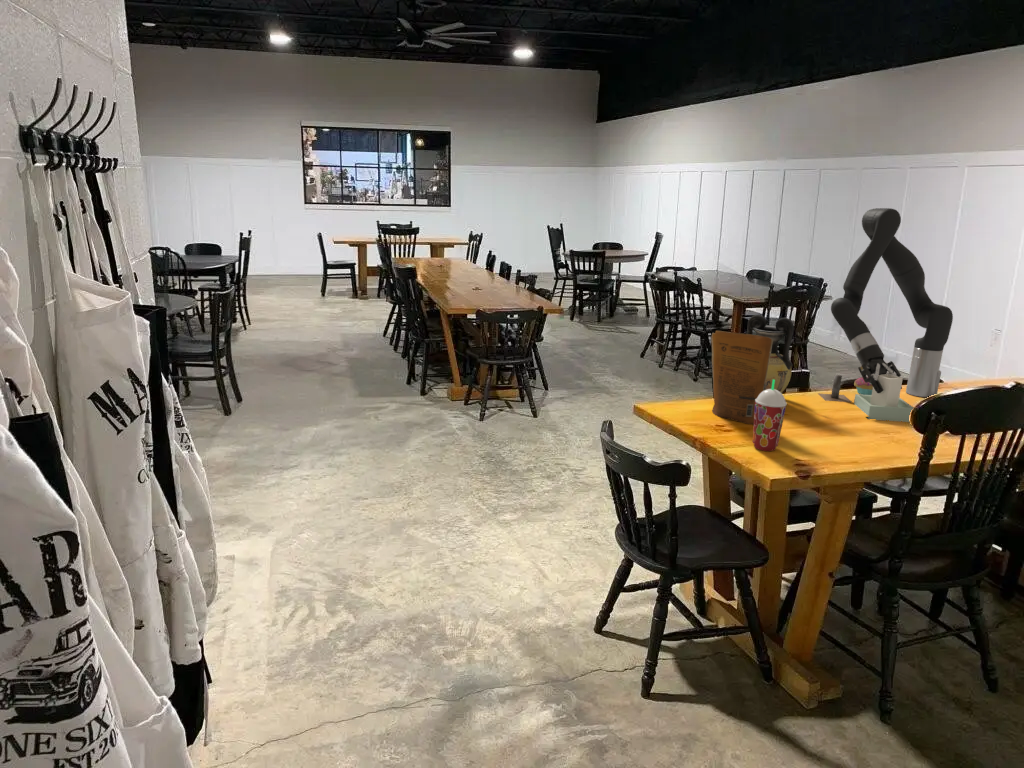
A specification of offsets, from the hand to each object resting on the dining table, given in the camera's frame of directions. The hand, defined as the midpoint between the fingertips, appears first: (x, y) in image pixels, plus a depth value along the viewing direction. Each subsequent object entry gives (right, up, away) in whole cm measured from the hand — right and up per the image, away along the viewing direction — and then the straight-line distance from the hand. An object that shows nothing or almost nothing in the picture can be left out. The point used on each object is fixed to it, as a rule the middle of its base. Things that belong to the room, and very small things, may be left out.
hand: (890, 391), depth 238 cm
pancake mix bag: (-53, -9, -7) cm, 54 cm away
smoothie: (-52, -16, -32) cm, 63 cm away
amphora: (-38, -4, +13) cm, 40 cm away
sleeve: (-1, -7, +3) cm, 8 cm away
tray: (-1, -8, +3) cm, 9 cm away
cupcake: (+4, -2, +24) cm, 25 cm away
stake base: (-11, -4, +17) cm, 20 cm away
